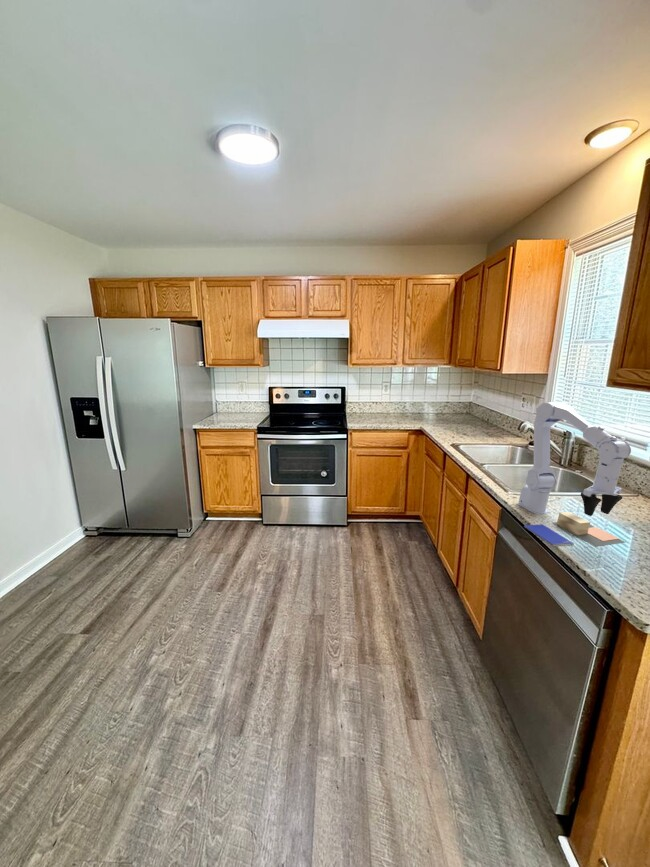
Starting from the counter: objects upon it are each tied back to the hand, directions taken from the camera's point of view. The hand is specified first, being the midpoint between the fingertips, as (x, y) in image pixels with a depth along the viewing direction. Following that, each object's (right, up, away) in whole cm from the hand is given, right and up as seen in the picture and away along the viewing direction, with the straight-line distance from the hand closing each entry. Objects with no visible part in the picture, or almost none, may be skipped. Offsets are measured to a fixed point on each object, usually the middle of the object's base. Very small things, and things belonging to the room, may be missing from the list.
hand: (596, 513), depth 112 cm
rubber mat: (+2, -8, +6) cm, 11 cm away
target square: (+5, -8, +5) cm, 11 cm away
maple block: (-2, -7, +8) cm, 11 cm away
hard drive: (-15, -9, +3) cm, 18 cm away
